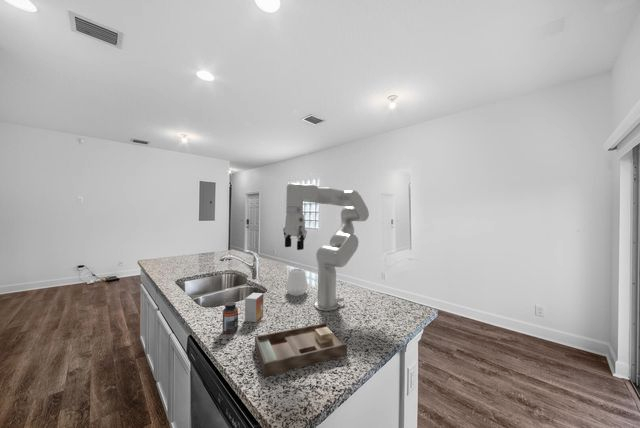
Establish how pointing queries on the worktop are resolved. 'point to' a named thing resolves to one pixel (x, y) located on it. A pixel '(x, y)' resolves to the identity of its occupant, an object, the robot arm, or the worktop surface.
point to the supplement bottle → (230, 318)
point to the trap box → (295, 349)
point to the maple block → (323, 335)
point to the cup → (296, 282)
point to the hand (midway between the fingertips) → (293, 248)
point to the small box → (254, 307)
